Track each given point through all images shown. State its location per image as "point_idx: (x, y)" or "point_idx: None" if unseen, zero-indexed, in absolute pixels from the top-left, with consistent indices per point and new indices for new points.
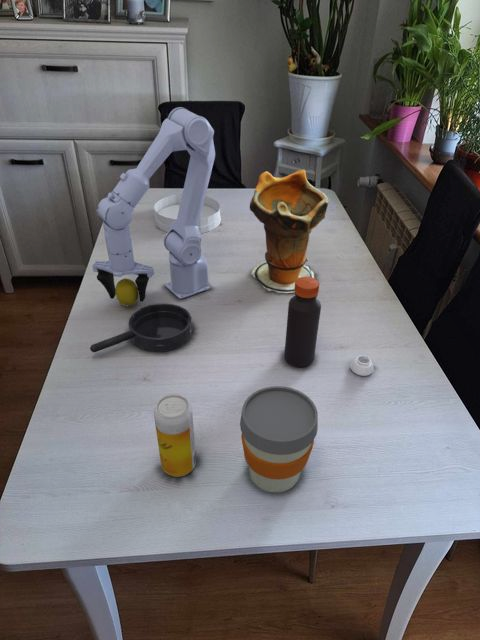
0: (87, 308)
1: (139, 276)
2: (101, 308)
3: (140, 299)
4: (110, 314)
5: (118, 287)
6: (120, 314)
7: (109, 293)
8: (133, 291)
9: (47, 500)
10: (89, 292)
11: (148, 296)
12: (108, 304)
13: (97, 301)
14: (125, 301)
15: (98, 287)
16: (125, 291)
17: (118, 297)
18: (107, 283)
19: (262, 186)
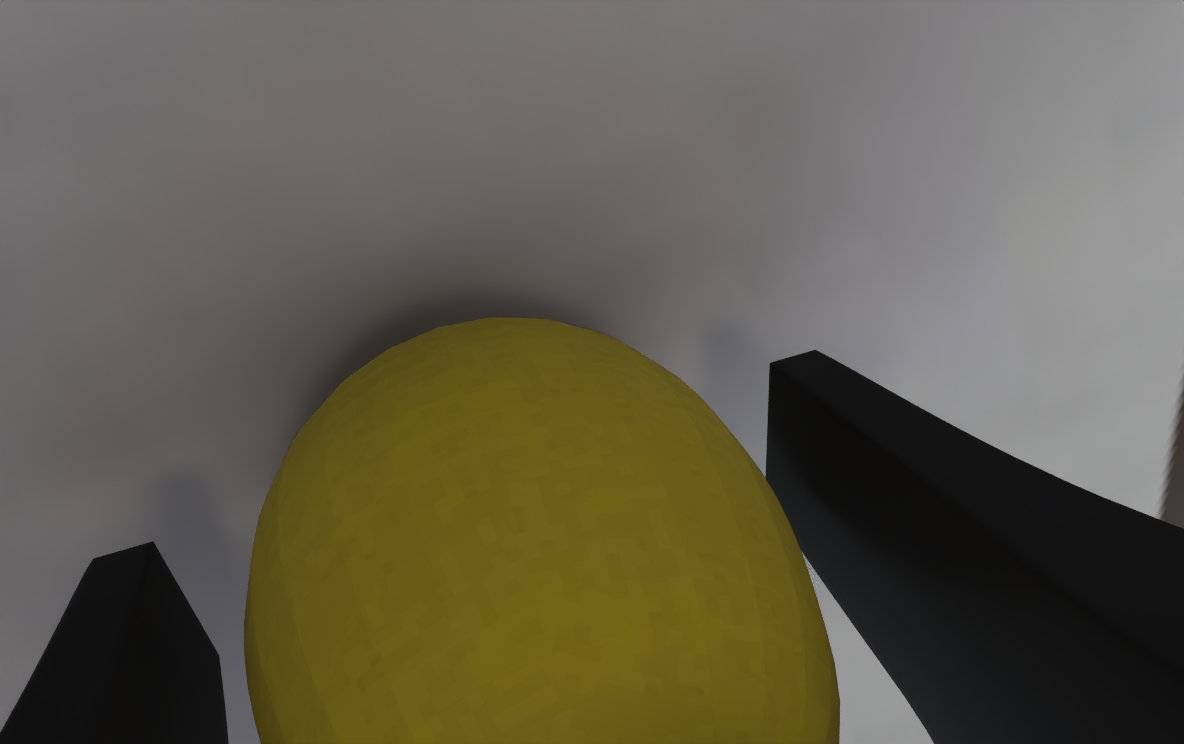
0: (1110, 29)
1: None
2: (886, 125)
3: (111, 593)
4: (660, 10)
5: (739, 668)
6: (462, 91)
7: (893, 414)
8: (283, 738)
9: None
10: (1122, 383)
11: None
12: (808, 272)
13: (990, 265)
14: (422, 375)
15: None
16: (461, 642)
17: (634, 395)
18: (1134, 645)
19: None
